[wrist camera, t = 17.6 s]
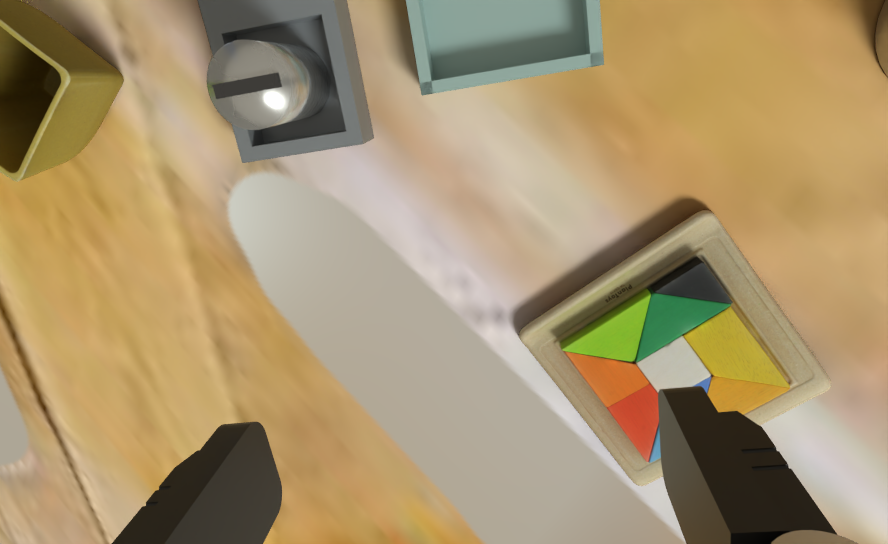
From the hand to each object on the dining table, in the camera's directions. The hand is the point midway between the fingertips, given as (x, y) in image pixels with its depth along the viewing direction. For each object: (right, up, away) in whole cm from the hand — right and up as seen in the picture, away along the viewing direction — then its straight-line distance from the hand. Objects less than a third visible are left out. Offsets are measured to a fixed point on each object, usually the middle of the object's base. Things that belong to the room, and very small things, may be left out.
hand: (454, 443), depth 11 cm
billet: (-11, +17, +29) cm, 35 cm away
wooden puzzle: (+18, -3, +35) cm, 40 cm away
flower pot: (-28, +18, +32) cm, 46 cm away
